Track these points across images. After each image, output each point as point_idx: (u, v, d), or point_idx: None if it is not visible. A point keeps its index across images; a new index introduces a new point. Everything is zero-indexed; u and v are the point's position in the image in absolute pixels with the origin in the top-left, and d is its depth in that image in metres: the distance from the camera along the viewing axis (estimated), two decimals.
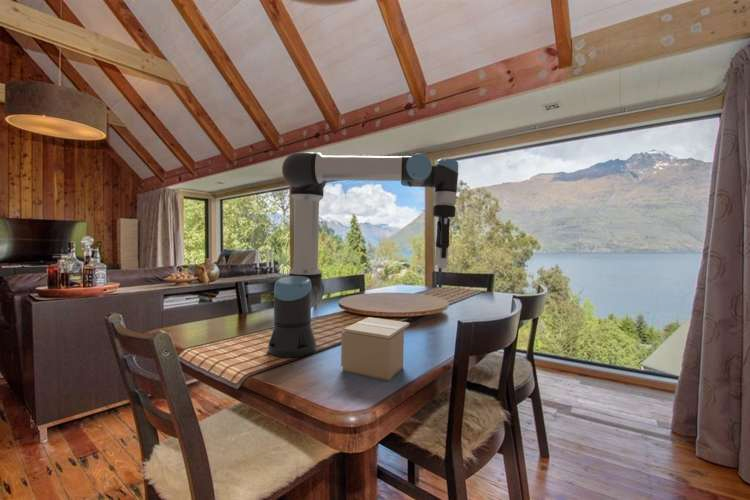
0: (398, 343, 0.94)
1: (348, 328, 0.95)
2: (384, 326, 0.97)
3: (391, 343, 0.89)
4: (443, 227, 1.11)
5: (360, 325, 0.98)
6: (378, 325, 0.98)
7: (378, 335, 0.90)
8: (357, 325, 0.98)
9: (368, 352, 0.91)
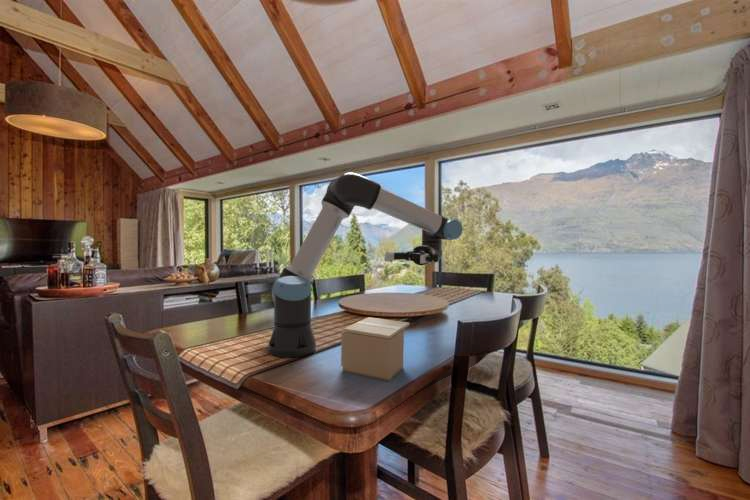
0: (398, 343, 0.94)
1: (348, 328, 0.95)
2: (384, 326, 0.97)
3: (391, 343, 0.89)
4: None
5: (360, 325, 0.98)
6: (378, 325, 0.98)
7: (378, 335, 0.90)
8: (357, 325, 0.98)
9: (368, 352, 0.91)
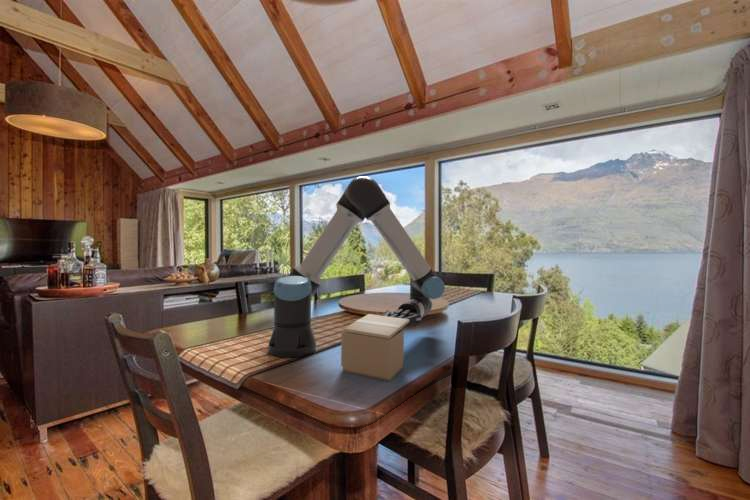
0: (398, 343, 0.94)
1: (348, 328, 0.95)
2: (384, 324, 0.97)
3: (391, 343, 0.89)
4: (414, 318, 1.11)
5: (360, 324, 0.98)
6: (378, 323, 0.98)
7: (378, 335, 0.90)
8: (357, 324, 0.98)
9: (368, 352, 0.91)
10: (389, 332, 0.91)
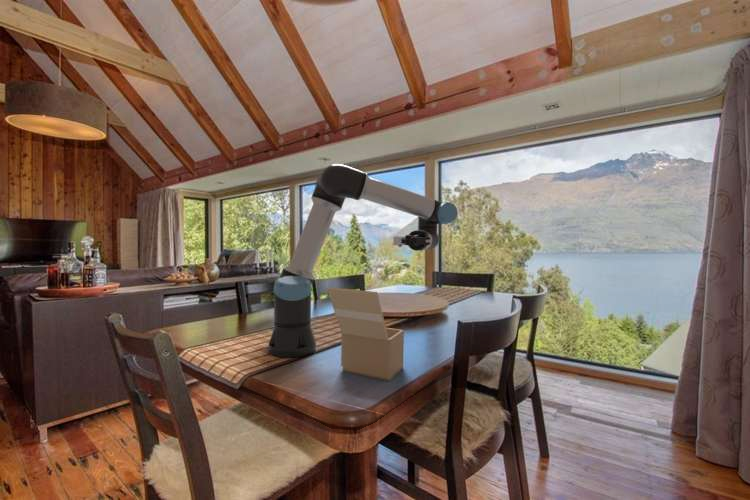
0: (398, 343, 0.94)
1: (344, 331, 0.93)
2: (365, 317, 0.86)
3: (391, 343, 0.89)
4: (423, 239, 1.17)
5: (345, 320, 0.90)
6: (358, 316, 0.87)
7: None
8: (343, 321, 0.90)
9: (368, 352, 0.91)
10: (382, 333, 0.87)
